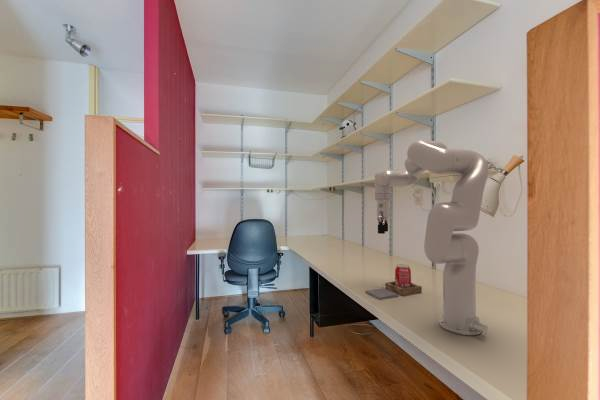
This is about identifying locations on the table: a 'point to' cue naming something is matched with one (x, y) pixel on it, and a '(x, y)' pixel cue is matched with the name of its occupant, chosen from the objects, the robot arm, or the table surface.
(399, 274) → the soda can
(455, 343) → the table surface
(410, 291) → the brown wooden tray
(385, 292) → the mat
